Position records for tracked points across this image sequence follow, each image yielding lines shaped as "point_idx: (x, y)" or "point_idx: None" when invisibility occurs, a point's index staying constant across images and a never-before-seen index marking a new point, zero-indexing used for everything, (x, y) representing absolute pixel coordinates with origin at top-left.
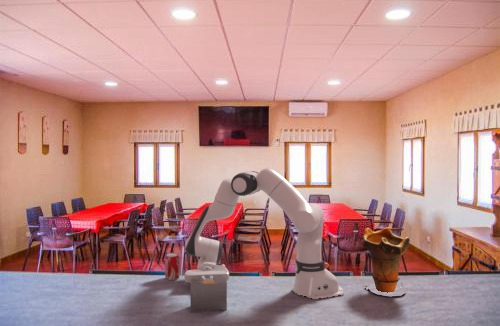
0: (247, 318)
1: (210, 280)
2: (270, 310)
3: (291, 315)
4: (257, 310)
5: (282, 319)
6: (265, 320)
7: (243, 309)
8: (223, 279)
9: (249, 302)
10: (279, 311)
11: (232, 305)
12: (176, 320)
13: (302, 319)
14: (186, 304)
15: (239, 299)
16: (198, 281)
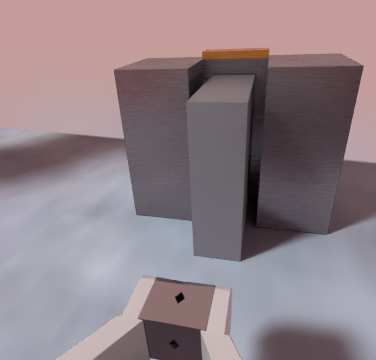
0: (125, 146)
1: (210, 88)
2: (26, 160)
3: (9, 141)
4: (61, 165)
5: (48, 136)
6: (89, 137)
7: (98, 175)
8: (141, 64)
9: (28, 206)
10: (11, 154)
11: (115, 201)
12: (360, 164)
13: (10, 132)
14: (363, 254)
15: (39, 237)
16: (296, 59)
